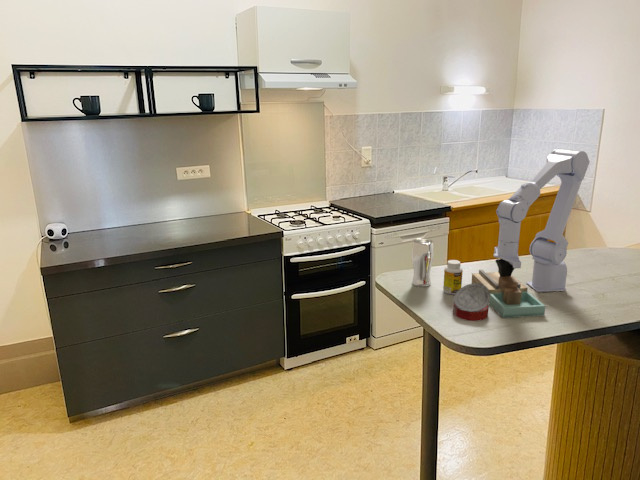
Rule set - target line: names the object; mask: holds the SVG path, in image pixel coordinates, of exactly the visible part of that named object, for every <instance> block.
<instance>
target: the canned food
mask: <svg viewBox="0 0 640 480" xmlns="http://www.w3.org/2000/svg"><path fill="white" fill-rule="evenodd" d="M453 296H454V297H453V302H452V314H453V315H454V316H455V317H457V318H458V319H460V320H464V321H468V322H469V321H471V322H479V321H484V320H486V319H487V318H488V316H489V307H490V304H489V301H490V292H489V290H488V288H487V287H486V286H484V285H483V284H481V283H472V282H471V283H469V284H466V285H464V286H461V288H460V289H459V291H458V292H456V294H455V295H453Z"/></svg>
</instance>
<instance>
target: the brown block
mask: <svg viewBox="0 0 640 480" xmlns="http://www.w3.org/2000/svg"><path fill="white" fill-rule="evenodd" d="M512 276H513V275H512ZM512 276H504V277H499V282H498V284H499V285H500V288H501V290H502V291H503V292H504V288H515V287H517V284H518V282H517V281H516V280H515V279H514V278H513V277H512Z"/></svg>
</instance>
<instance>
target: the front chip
mask: <svg viewBox="0 0 640 480" xmlns="http://www.w3.org/2000/svg"><path fill="white" fill-rule="evenodd" d="M521 295H522V292H521V291H520V290H519V289H518V288H517V287H515V288H504V293H503V301H504V302H505V303H506V304H507V305H514V304H520V301H521Z"/></svg>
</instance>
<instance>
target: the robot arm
mask: <svg viewBox="0 0 640 480" xmlns="http://www.w3.org/2000/svg"><path fill="white" fill-rule="evenodd" d="M589 159H590V158H589V156H588V154H587V152H586V151H584V150H572V149H571V150H569V149H561V148H555V149H553V150H552V151H551V152H550V154H548V155H547V157H546V163H545V164H544V166H543V167H542V168H541V169H540V171H538V172H537V174H536V175H535V177H533V179H532V180H531V181H530V182H529V181H526V182H524V183H522V184H521V185H520V186H519V188H518V189H517V190H516V191H515V192H514V193H513V194H512V195H510V197H509V198H508V199H504V200H502V201H501V202H500V203H499V205H497V209H496V210H495V212H496V215H497V218H498V224H499V227H498V228H499V229H498V230H499V231H498V232H499V233H498V243H497V246H494V250H493V257H494V258H496V259H495V264H496V265H497V270H498V269H499V273H500V277H504V276H511V275H513V272H514V270H515V269H521V268H522V267H521V266H522V261H521V260H520V257H519V243H520V235H521V233H520V232H521V224H522V221H523V220H524V219H525V218H526V216H527V214H528V211H529V209H530V207H531V205H533V203H534V202H536V200H537V199H538V198H539V197H540V196H541V190H542V189H543V188H544V187H545V186H546V185H547V184H548V183H549V182H550V181H552V180H553V179H554V178H555V177H556V176H557V177H559V179H560V181H561V183H560V186H559V189H558V191H557V194H556V197H555V199H554V203H553V206H552V208H551V210H550V213H549V216H548V219H547V222H546V225H545V228H544V229H543V230H541V231H538V232H537V233H536V234H535V236H534V239H533V240H532V241H531V243H530V245H529V254H530V255H531V256H532V258H531V259H532V260H533V270H532V279H531V280H530V281H526V284H527V285H529V287H531V288H532V289H533V290H535V292H537V293H546V292H562V291H563V292H566V291H567V288H566V284H567V277H568V276H567V275H568V267H567V264H566V263H565V262H564V261H565V259H566V258H567V253H568V252H567V250H568V245H569V242H568V240H567V239H566V237H565V236H564V235H563V234H564V232H565V229H566V227H567V226H566V225H567V224H568V221H569V218H570V215H571V212H572V210H573V207H574V205H575V201H576V199H577V195H578V194H579V191H580V190H579V189H580V187H581V185H582V182H583V180H584V179H585V176H586V173H587V170H588V168H589V165H590V160H589ZM553 241H554V242H553ZM497 258H498V259H497Z"/></svg>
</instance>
